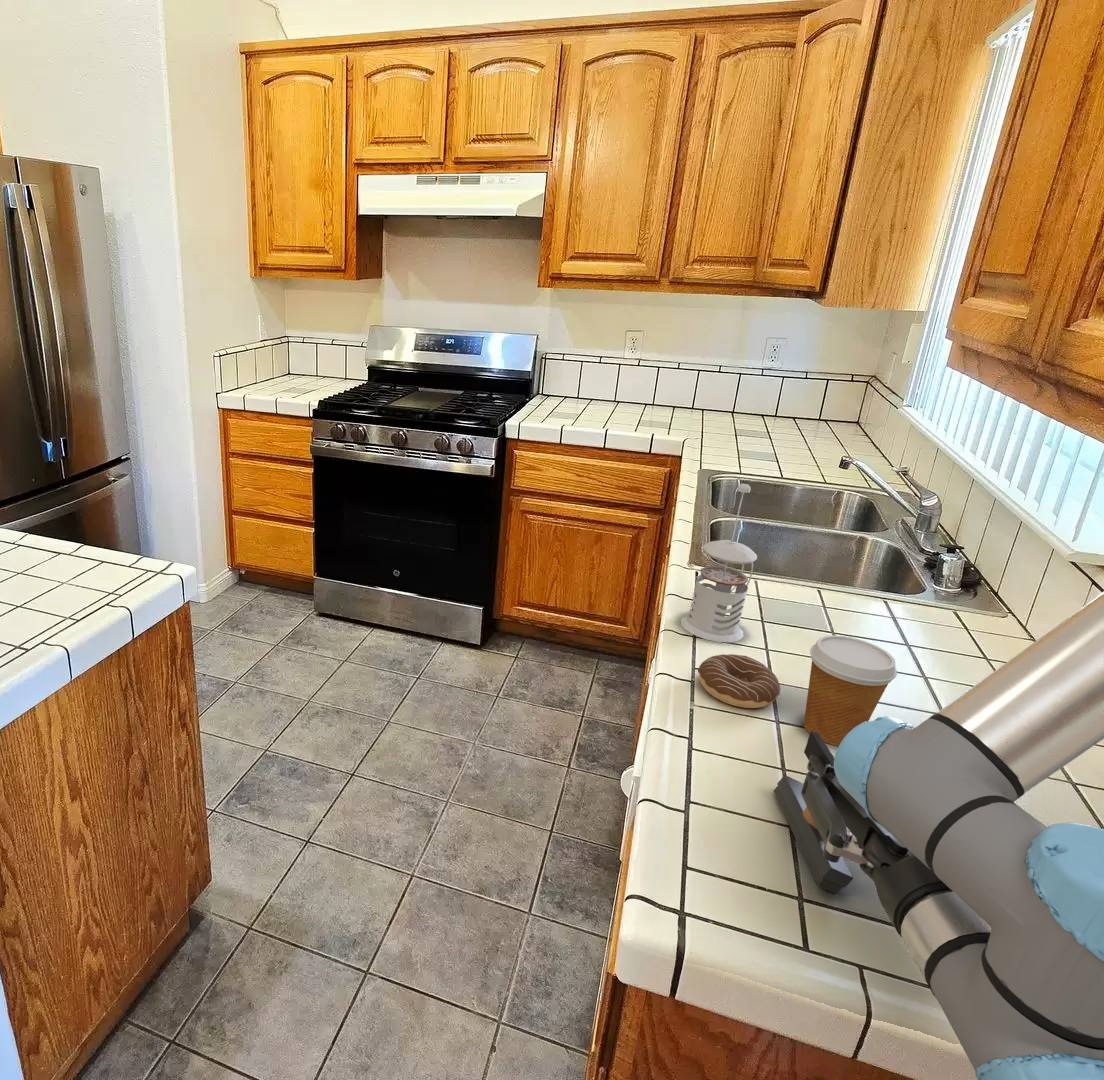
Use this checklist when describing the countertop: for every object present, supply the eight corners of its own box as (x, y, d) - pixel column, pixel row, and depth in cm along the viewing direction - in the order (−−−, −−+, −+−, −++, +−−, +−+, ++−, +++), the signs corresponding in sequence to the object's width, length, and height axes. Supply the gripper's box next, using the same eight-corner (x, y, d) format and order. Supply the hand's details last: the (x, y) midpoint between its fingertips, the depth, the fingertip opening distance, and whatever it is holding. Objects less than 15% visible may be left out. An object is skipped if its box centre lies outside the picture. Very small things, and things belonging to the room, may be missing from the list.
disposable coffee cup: (773, 717, 101) (795, 638, 97) (826, 706, 104) (849, 629, 100) (834, 761, 93) (861, 677, 88) (889, 747, 96) (918, 665, 92)
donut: (740, 668, 113) (746, 645, 111) (794, 708, 103) (801, 683, 102) (679, 676, 110) (685, 652, 109) (728, 717, 101) (735, 692, 99)
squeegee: (792, 800, 86) (864, 715, 81) (840, 896, 73) (930, 803, 68) (769, 789, 86) (839, 703, 81) (812, 883, 73) (899, 789, 68)
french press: (668, 622, 126) (697, 479, 117) (710, 607, 132) (741, 470, 123) (720, 648, 119) (756, 497, 109) (762, 631, 125) (800, 487, 116)
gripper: (822, 938, 62) (743, 761, 84) (1050, 978, 60) (908, 786, 81) (848, 868, 59) (759, 704, 81) (1088, 907, 57) (931, 728, 79)
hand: (834, 745), depth 81 cm, fingers closed on squeegee, 4 cm apart
